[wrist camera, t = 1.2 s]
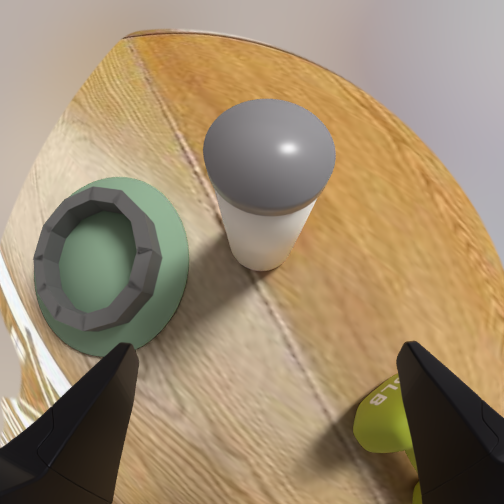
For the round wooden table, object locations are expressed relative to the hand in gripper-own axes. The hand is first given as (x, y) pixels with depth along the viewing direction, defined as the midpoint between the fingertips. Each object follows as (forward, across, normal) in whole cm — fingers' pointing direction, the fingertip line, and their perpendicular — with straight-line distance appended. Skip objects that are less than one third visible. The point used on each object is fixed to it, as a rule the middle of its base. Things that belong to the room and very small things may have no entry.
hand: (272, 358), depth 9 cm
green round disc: (+13, +14, +5) cm, 20 cm away
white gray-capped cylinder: (+15, 0, +4) cm, 15 cm away
